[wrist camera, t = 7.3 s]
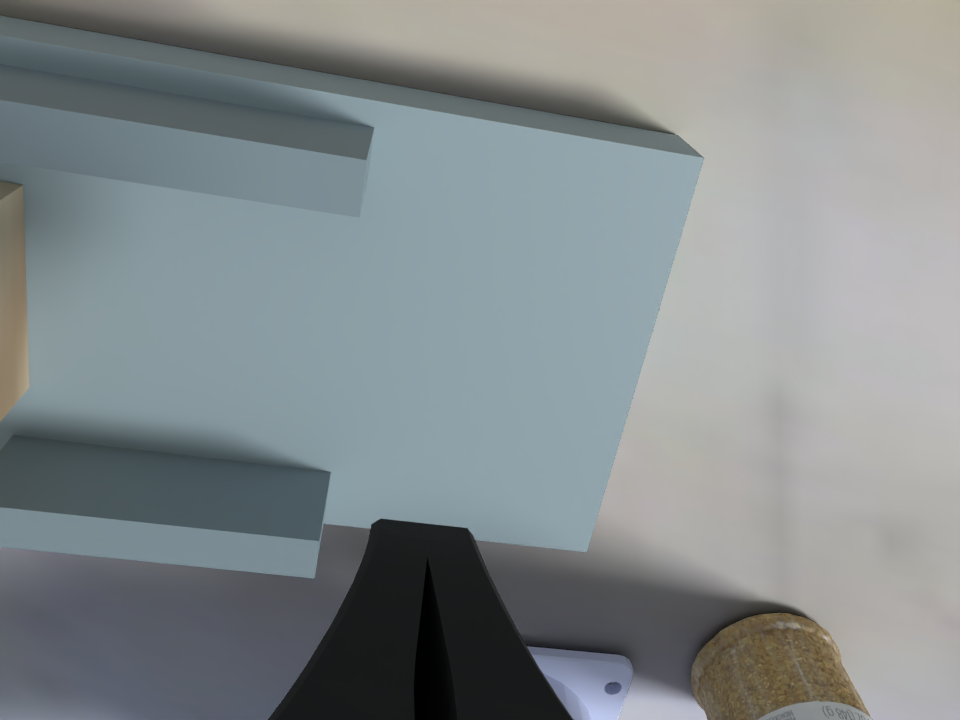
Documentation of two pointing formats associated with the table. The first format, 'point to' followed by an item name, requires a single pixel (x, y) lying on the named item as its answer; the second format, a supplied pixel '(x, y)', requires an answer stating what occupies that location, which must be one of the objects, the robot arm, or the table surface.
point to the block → (12, 298)
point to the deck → (315, 304)
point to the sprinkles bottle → (774, 673)
